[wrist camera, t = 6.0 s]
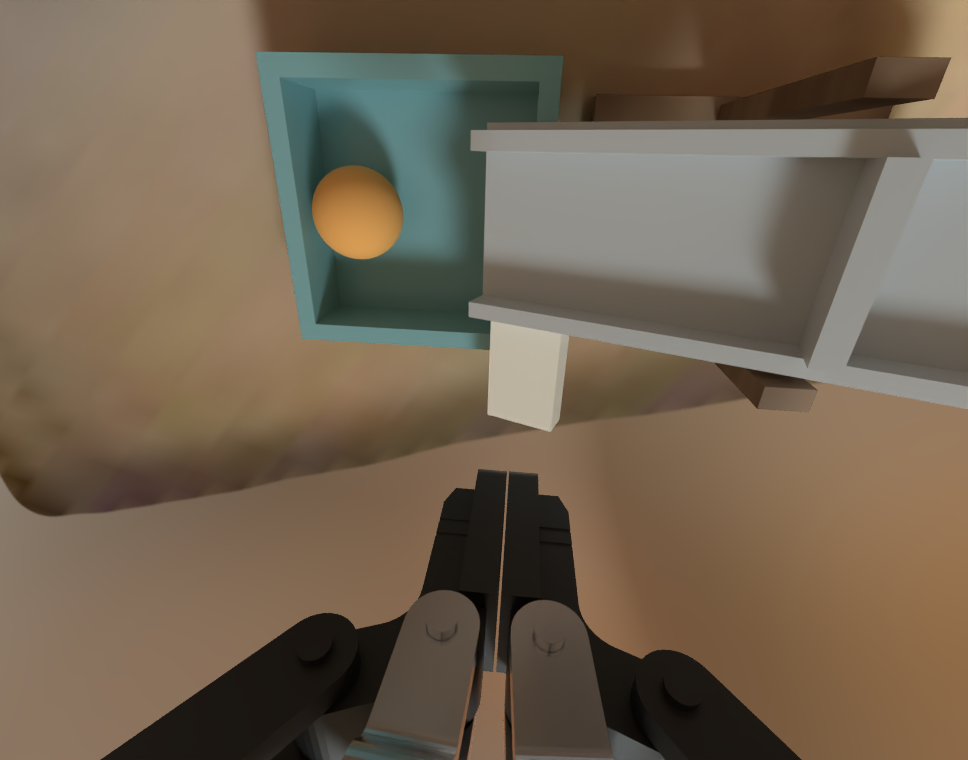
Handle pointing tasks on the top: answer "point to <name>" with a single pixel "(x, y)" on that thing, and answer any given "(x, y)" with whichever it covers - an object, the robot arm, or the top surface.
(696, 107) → the stand
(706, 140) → the chute
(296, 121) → the teal square tray
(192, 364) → the top surface
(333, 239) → the ball
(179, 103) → the top surface
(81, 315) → the top surface
